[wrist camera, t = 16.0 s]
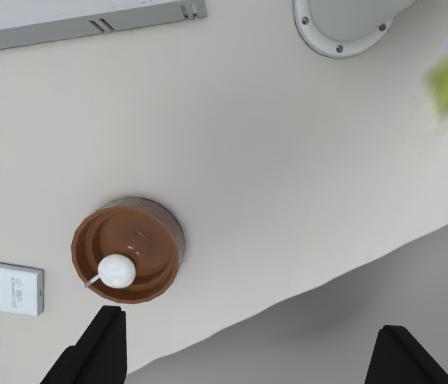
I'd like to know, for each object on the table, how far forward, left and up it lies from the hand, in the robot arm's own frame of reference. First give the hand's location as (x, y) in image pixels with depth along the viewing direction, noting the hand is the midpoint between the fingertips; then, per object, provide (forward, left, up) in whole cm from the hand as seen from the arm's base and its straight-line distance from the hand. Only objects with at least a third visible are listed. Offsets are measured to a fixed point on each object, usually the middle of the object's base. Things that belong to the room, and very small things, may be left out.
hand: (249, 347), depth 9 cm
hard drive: (+20, -36, -28) cm, 50 cm away
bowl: (+11, -14, -28) cm, 33 cm away
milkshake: (+10, -14, -28) cm, 33 cm away
